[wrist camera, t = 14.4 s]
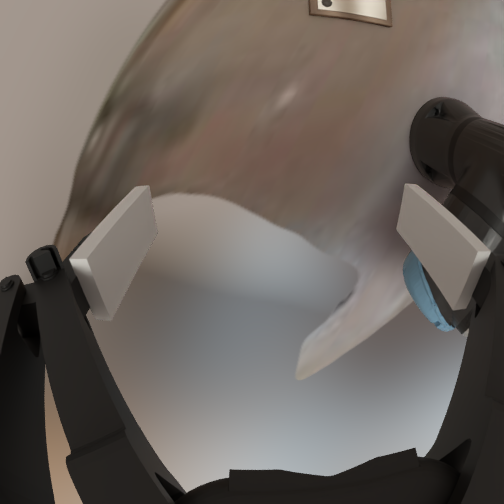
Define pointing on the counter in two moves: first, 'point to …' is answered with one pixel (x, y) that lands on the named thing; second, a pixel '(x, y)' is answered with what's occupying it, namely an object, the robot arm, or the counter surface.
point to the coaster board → (354, 10)
